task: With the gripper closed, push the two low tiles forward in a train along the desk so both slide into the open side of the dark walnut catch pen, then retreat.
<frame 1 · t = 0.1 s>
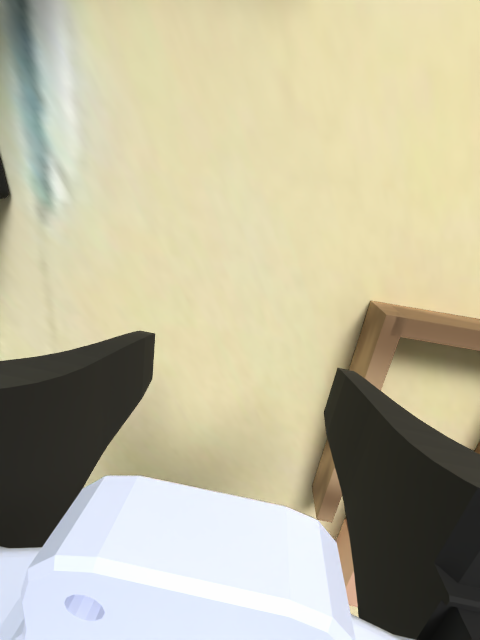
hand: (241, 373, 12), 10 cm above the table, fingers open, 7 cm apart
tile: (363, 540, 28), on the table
catch pen: (415, 426, 23), on the table
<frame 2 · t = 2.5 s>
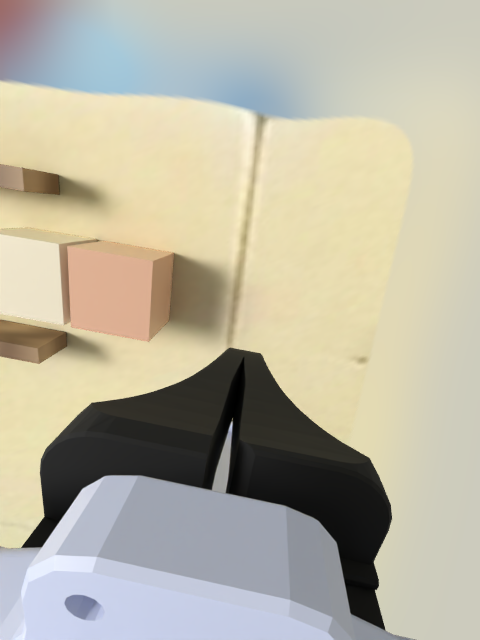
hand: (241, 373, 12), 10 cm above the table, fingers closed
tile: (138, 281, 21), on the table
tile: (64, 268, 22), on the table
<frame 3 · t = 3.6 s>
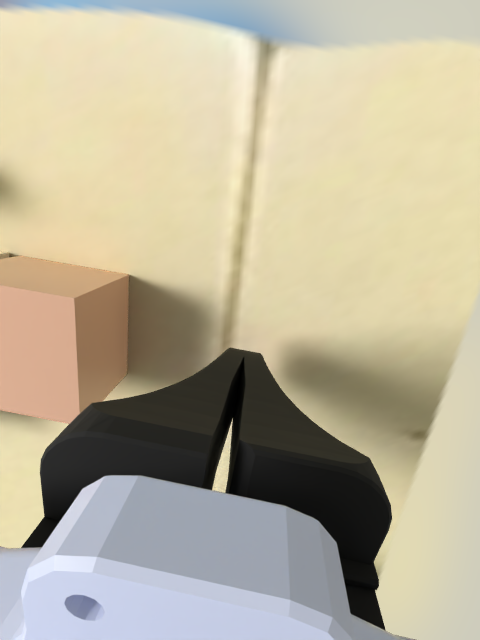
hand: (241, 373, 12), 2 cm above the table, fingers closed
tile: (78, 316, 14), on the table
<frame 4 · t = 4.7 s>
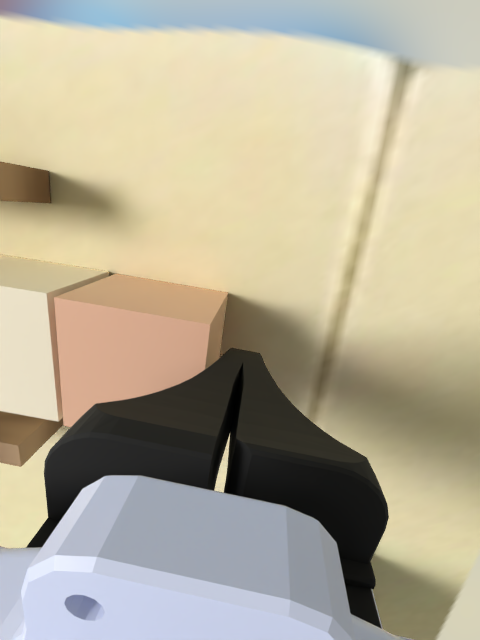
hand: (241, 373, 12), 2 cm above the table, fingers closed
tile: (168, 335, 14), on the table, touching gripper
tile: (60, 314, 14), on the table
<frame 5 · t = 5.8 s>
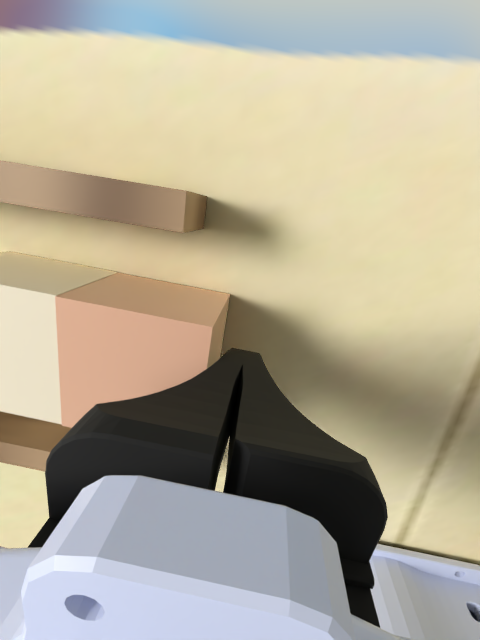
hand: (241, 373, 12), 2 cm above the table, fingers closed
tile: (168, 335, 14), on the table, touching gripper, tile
catch pen: (26, 309, 14), on the table
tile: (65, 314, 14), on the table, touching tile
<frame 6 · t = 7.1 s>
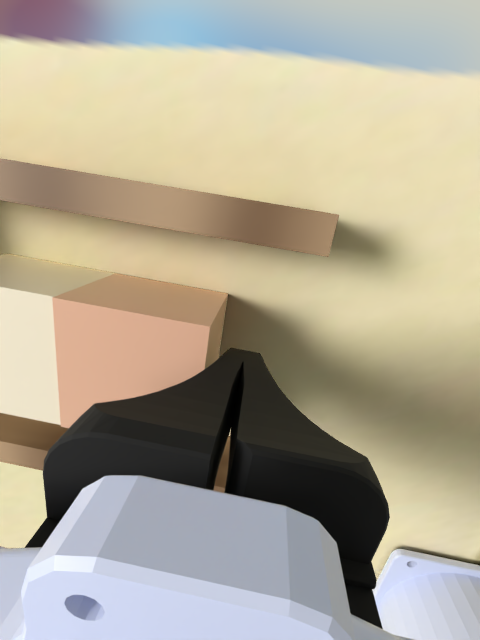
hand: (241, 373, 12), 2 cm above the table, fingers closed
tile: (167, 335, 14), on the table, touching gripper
catch pen: (117, 326, 14), on the table
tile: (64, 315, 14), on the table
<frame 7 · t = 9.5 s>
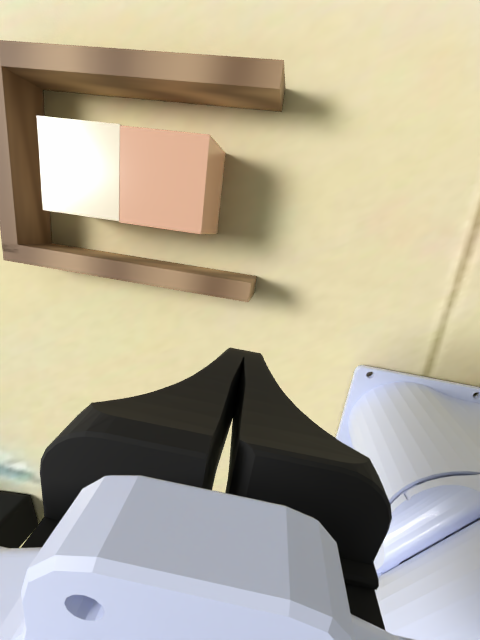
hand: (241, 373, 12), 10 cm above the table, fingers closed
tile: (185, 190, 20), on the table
battery: (11, 503, 33), on the table
catch pen: (152, 185, 20), on the table
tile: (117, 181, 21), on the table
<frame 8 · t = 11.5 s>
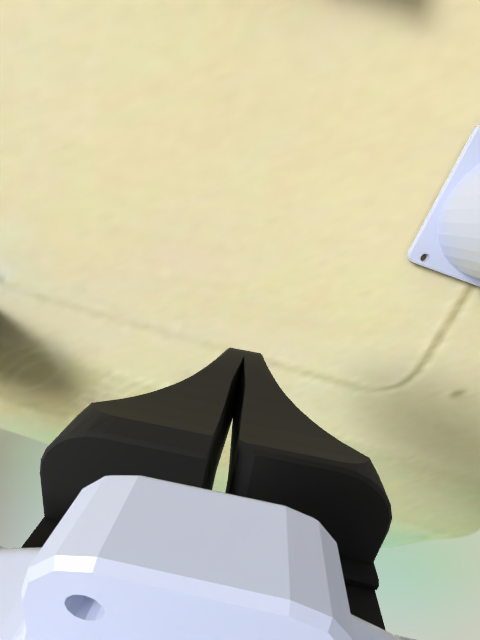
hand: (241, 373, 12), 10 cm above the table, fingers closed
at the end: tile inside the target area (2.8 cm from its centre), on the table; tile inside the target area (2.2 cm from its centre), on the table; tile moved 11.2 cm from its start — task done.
